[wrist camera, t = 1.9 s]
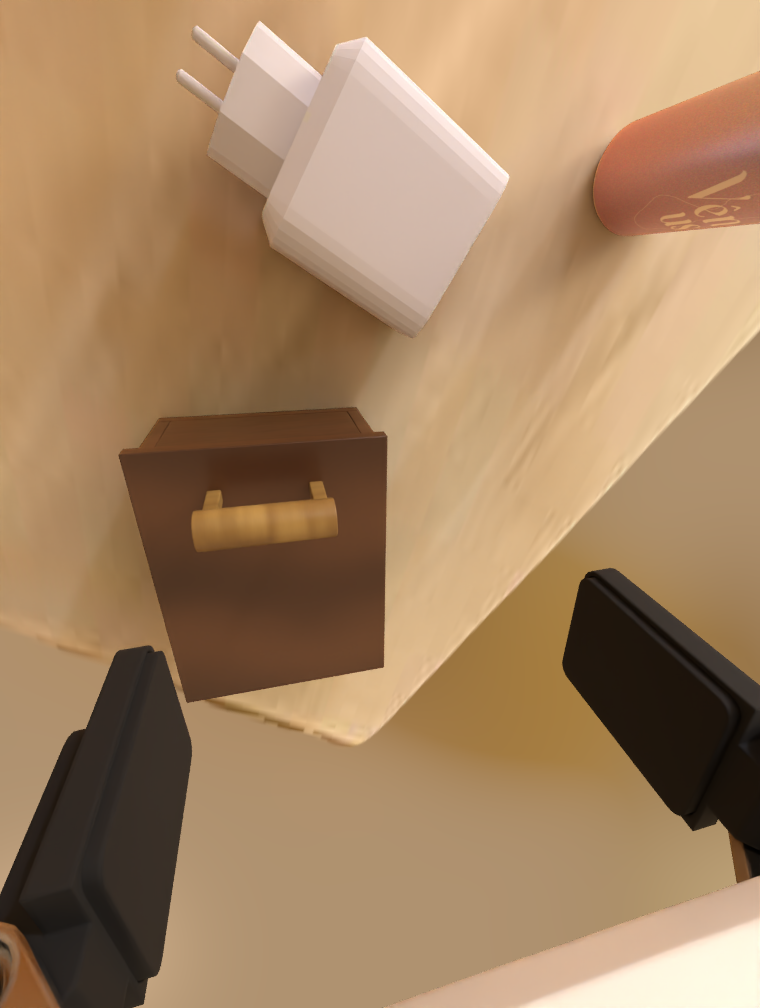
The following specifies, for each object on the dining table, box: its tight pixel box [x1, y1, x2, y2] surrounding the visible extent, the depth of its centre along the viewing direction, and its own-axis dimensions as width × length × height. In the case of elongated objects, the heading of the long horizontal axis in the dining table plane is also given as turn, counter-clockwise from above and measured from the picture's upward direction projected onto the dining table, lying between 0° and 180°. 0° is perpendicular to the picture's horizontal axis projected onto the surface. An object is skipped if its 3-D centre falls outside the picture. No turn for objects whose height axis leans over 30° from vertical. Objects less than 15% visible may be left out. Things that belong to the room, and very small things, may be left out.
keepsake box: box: [139, 407, 373, 448], centre depth 30 cm, size 16×13×8 cm
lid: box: [119, 432, 387, 703], centre depth 24 cm, size 16×13×5 cm
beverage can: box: [593, 71, 760, 236], centre depth 22 cm, size 6×6×15 cm
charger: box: [176, 21, 509, 338], centre depth 23 cm, size 5×9×15 cm
